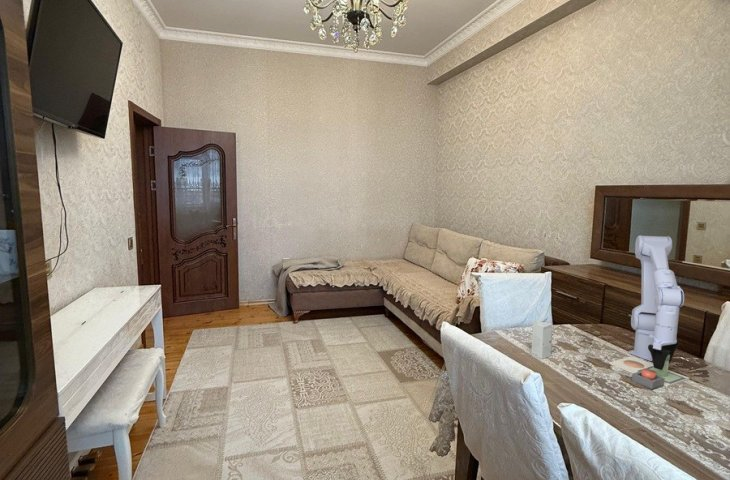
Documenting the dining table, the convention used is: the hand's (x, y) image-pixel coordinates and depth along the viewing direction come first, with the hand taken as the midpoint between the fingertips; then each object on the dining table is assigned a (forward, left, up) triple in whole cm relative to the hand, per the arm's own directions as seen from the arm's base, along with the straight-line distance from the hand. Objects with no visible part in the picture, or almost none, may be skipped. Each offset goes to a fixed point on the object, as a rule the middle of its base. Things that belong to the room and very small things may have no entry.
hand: (662, 365), depth 125 cm
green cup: (0, 0, -3) cm, 3 cm away
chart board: (0, -4, -4) cm, 6 cm away
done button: (+9, +1, -2) cm, 9 cm away
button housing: (+9, +1, -4) cm, 10 cm away
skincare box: (+22, -28, -4) cm, 36 cm away
